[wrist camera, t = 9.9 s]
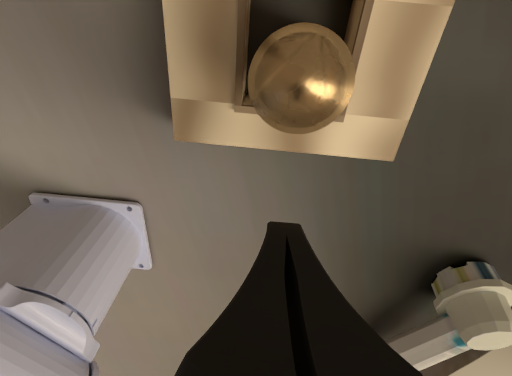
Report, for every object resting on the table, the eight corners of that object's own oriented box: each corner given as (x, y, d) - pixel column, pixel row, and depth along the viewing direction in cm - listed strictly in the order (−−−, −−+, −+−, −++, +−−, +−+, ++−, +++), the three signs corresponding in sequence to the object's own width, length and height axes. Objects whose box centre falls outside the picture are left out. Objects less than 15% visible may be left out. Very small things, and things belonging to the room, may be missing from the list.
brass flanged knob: (257, 99, 19) (248, 132, 14) (258, 18, 16) (247, 22, 11) (328, 101, 18) (344, 136, 13) (340, 19, 16) (366, 23, 11)
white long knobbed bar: (311, 401, 34) (516, 330, 19) (309, 343, 40) (470, 251, 24) (346, 411, 36) (568, 353, 20) (340, 354, 41) (514, 272, 25)
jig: (184, 126, 20) (172, 142, 18) (171, -84, 14) (150, -101, 12) (381, 145, 20) (394, 163, 18) (452, -59, 14) (486, -71, 12)
